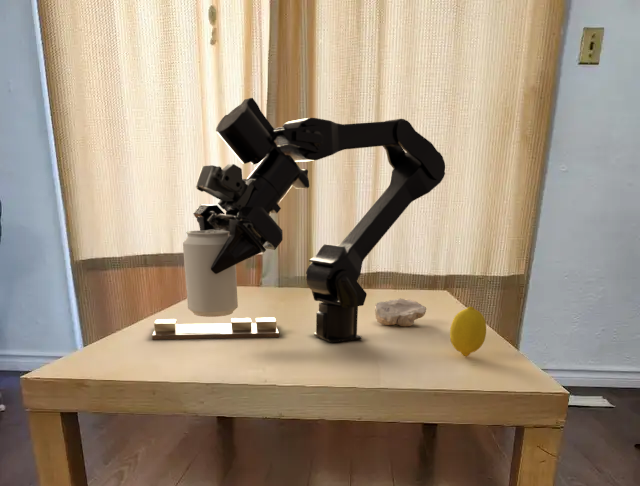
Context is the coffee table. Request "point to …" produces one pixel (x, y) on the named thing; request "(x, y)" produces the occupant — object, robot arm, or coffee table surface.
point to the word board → (215, 329)
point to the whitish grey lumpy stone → (399, 312)
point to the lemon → (468, 331)
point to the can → (208, 275)
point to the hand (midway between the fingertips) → (201, 268)
